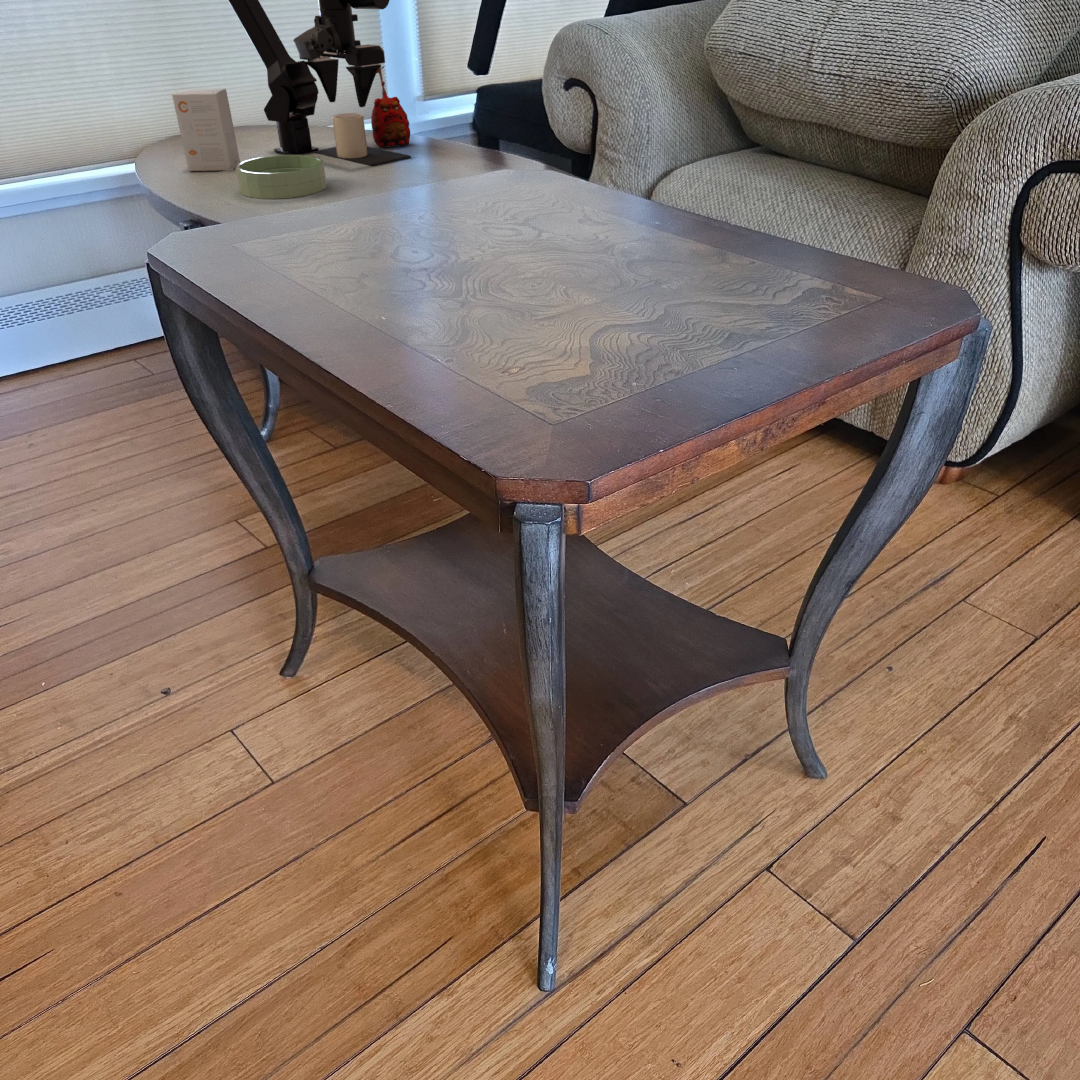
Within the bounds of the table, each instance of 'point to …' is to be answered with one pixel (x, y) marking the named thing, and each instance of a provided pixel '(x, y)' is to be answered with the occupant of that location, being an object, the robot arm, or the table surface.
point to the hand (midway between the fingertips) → (347, 104)
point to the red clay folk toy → (389, 121)
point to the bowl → (281, 176)
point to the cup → (350, 135)
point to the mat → (371, 159)
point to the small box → (206, 129)
